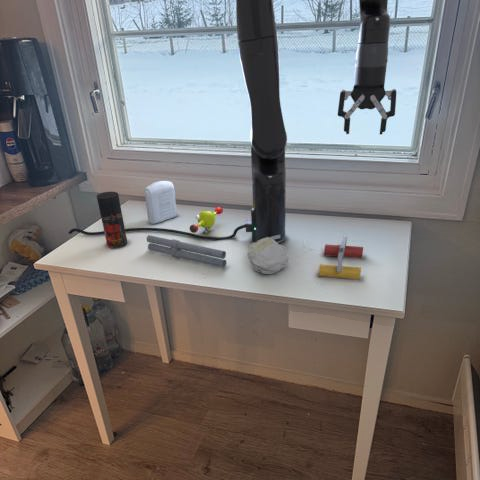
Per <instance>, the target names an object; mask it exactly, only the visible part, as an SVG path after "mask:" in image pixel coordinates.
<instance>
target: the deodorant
mask: <svg viewBox="0 0 480 480" xmlns="http://www.w3.org/2000/svg"><path fill="white" fill-rule="evenodd" d="M96 200H97V204H98V210H99V214H100V218H101V223H102V227H103V228H102V229H103V231H104V233H105V234H104V236H105V241H106V246H107V248H109V249H121V248H124V247H126V246H127V245H128V238H127V231H126V232H125V229H126V226H125V223H124V222H125V221H124V216H123V211H122V206H121V202H120V196H119V193H118V191H117V192H116V191H104V192H101V193H98V194H97V195H96Z"/></svg>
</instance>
